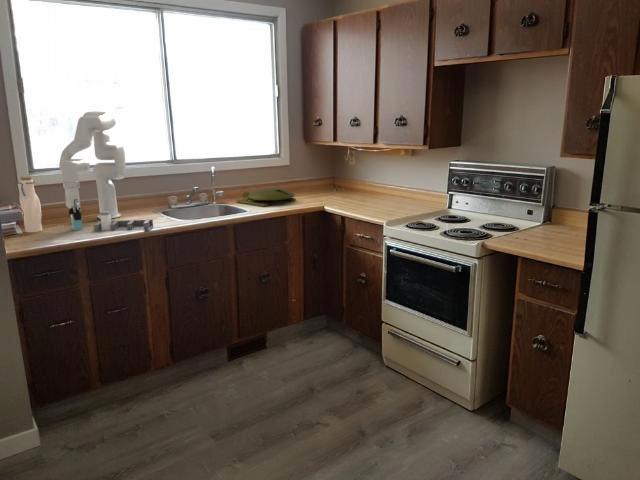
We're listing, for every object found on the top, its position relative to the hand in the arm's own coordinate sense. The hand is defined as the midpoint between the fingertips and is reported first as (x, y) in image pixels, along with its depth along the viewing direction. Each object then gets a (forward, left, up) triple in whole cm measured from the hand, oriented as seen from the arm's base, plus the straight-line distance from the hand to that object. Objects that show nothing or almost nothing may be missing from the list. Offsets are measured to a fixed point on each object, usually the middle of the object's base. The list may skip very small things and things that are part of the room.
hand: (75, 218), depth 261 cm
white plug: (+1, +15, -6) cm, 16 cm away
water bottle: (-6, -23, -7) cm, 25 cm away
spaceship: (-67, +102, -8) cm, 122 cm away
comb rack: (+1, +23, -7) cm, 24 cm away
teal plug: (-1, 0, -7) cm, 7 cm away
